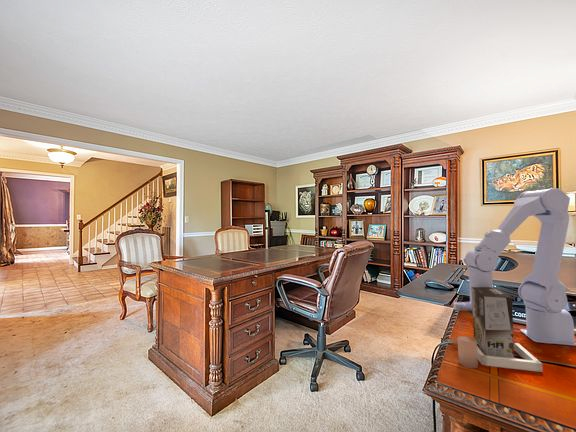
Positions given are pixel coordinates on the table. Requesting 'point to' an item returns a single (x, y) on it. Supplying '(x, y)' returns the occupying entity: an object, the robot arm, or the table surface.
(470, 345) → the beige block
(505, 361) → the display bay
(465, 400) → the table surface
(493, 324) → the coffee box
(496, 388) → the table surface
